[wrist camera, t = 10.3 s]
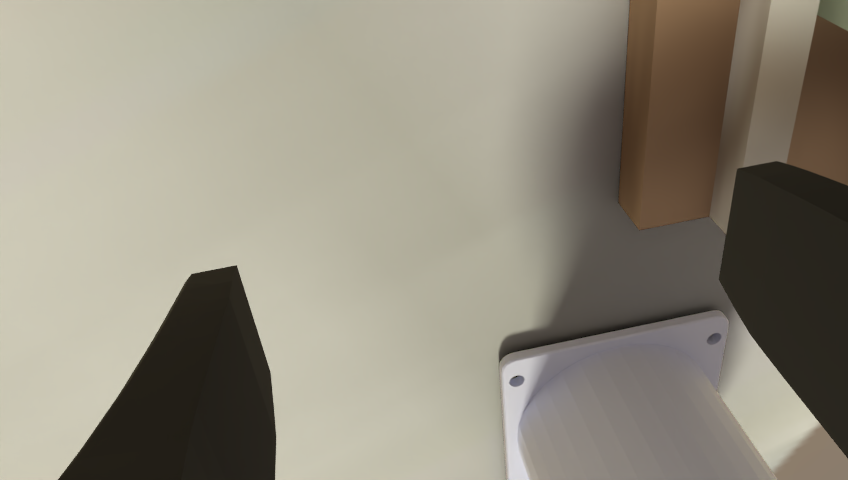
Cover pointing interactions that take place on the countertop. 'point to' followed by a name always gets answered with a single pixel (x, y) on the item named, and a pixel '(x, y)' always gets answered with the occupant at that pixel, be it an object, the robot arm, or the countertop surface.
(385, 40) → the countertop surface
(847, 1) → the pale green rectangular block
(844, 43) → the track board
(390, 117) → the countertop surface
